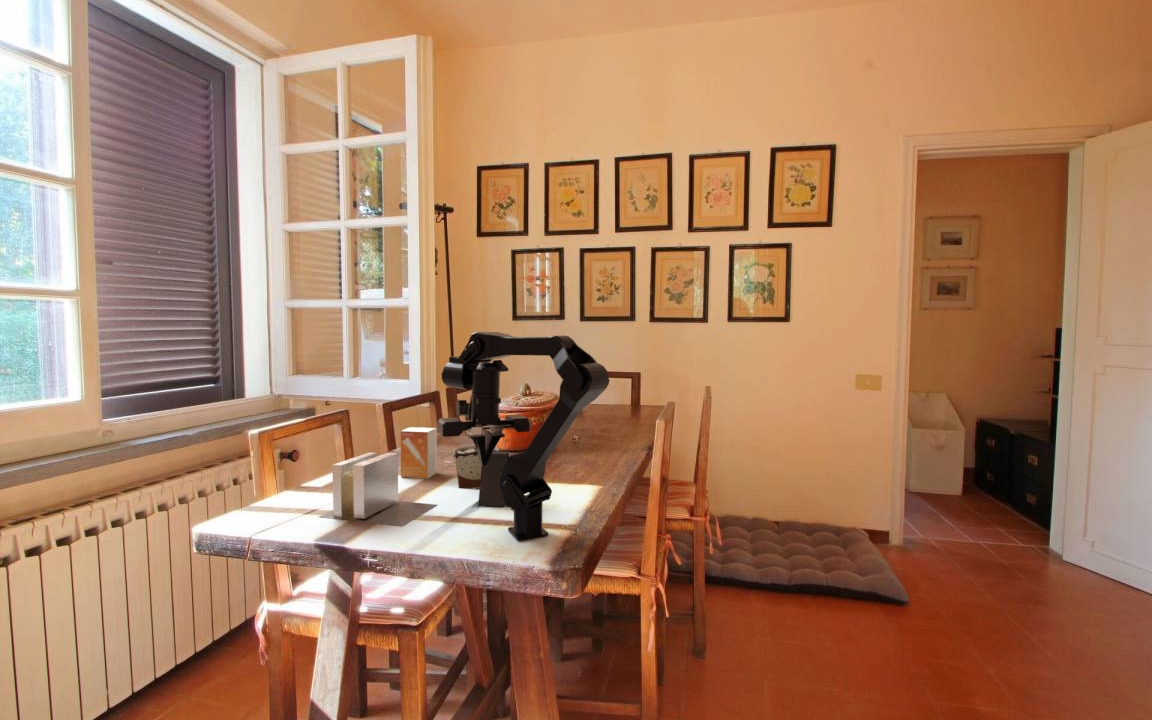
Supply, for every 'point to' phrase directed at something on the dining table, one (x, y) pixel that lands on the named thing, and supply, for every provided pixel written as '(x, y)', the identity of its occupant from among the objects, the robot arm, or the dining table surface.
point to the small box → (418, 452)
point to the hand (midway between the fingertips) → (483, 465)
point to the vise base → (390, 515)
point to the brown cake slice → (468, 467)
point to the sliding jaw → (375, 484)
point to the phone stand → (492, 480)
